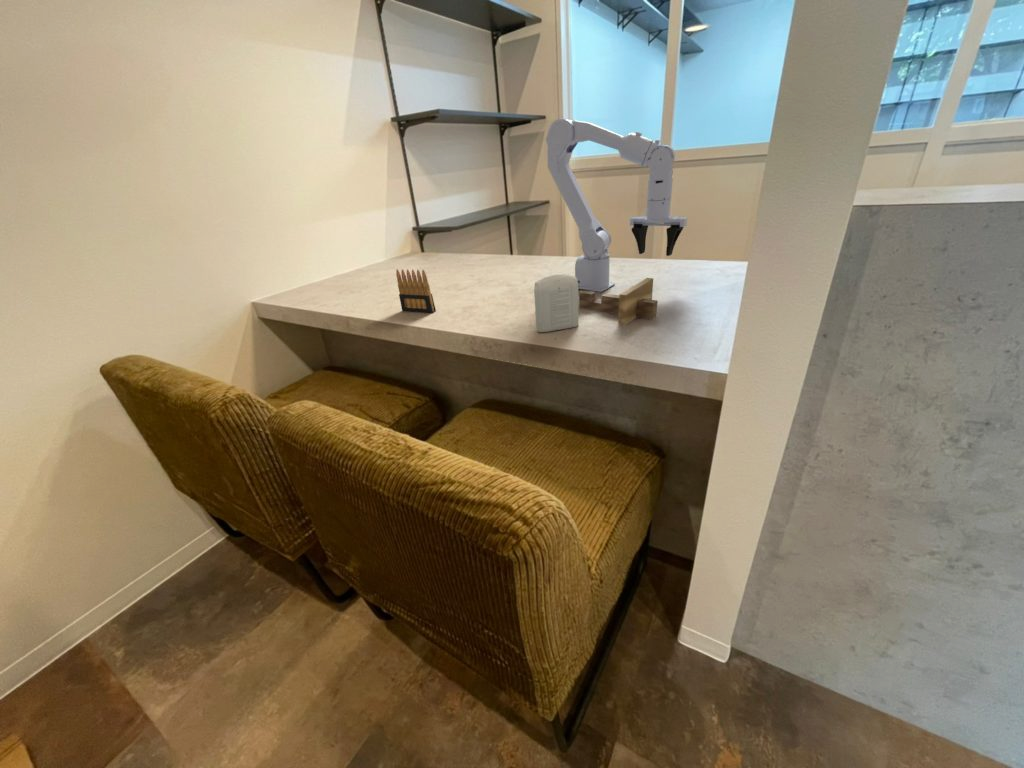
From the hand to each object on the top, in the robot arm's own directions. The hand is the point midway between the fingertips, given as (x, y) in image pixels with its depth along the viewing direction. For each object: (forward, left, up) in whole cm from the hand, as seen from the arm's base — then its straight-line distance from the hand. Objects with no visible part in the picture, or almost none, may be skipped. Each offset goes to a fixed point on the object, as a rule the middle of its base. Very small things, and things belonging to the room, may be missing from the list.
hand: (655, 254), depth 111 cm
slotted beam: (0, -21, -9) cm, 23 cm away
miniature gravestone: (-7, -36, -10) cm, 38 cm away
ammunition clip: (-50, -44, -10) cm, 67 cm away
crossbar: (+5, -21, -9) cm, 23 cm away
